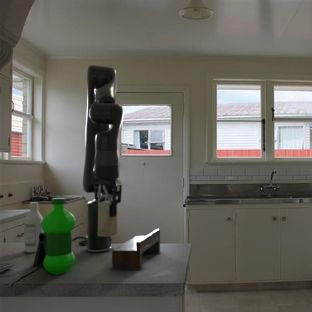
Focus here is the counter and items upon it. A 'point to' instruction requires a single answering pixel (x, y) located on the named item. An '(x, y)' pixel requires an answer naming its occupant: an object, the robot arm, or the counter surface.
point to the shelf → (135, 251)
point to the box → (106, 220)
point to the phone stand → (40, 251)
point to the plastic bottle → (58, 238)
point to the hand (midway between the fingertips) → (107, 214)
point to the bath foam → (33, 228)
